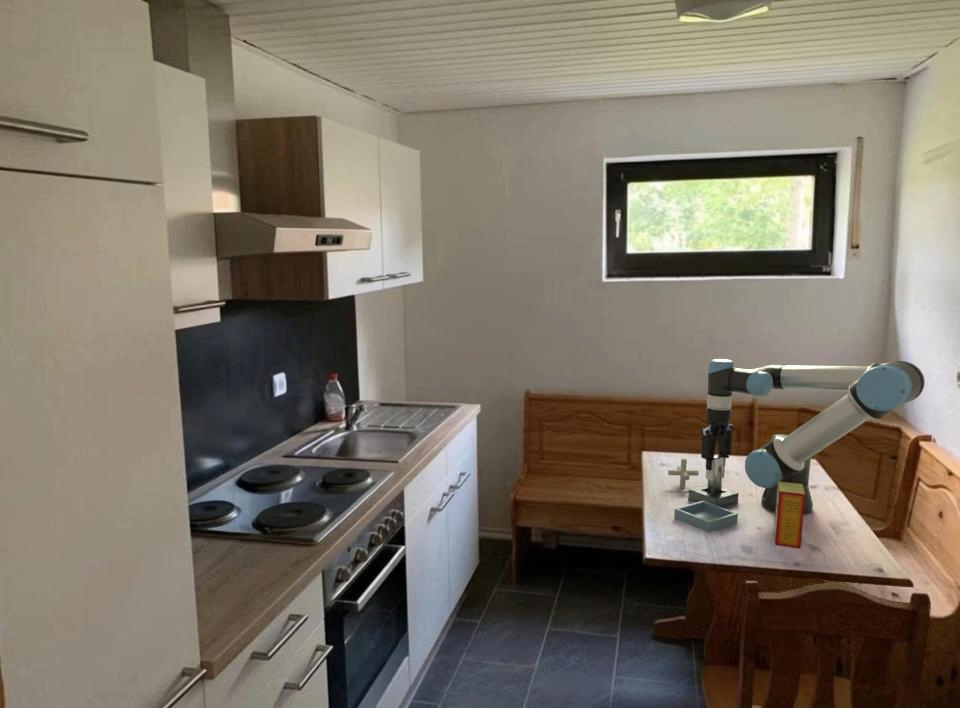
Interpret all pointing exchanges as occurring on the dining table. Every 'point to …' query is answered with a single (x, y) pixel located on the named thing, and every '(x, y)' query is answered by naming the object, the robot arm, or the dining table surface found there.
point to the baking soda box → (789, 514)
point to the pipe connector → (683, 472)
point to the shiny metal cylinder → (716, 477)
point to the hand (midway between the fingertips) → (714, 477)
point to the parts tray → (706, 516)
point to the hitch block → (713, 496)
